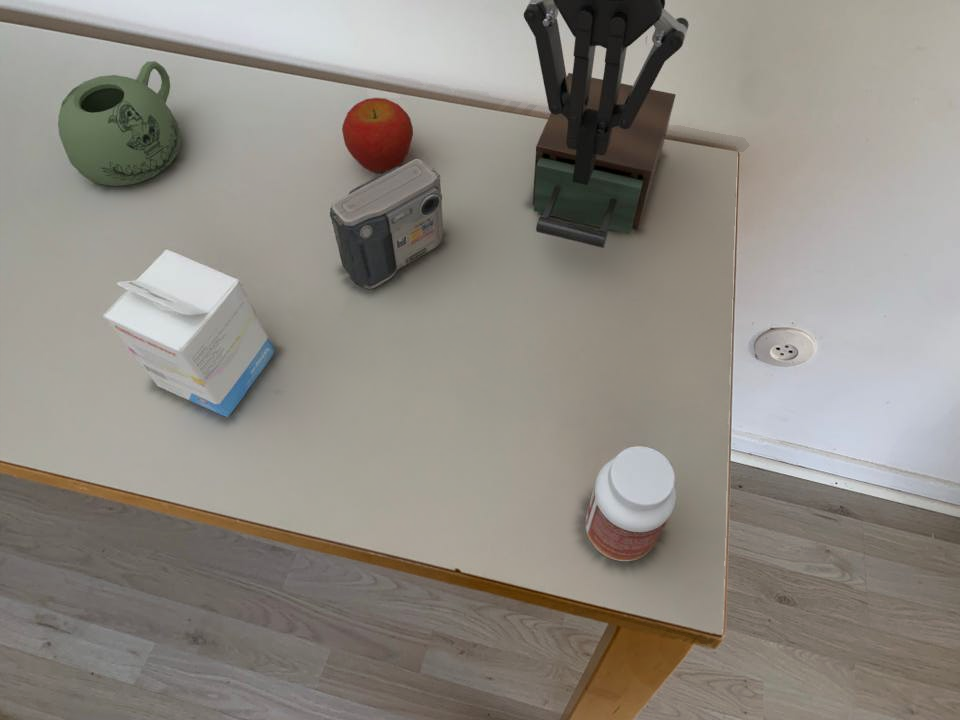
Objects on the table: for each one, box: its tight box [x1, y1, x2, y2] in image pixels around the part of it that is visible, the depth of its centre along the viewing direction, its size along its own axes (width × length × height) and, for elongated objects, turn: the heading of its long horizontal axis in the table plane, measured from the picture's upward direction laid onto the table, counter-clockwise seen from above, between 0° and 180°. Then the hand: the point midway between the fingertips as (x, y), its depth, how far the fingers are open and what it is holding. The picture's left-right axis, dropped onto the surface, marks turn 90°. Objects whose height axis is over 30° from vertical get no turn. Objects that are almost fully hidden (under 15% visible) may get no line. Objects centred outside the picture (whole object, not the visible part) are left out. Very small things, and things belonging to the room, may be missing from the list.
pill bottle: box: [584, 445, 677, 562], centre depth 58 cm, size 6×6×11 cm
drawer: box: [533, 155, 643, 249], centre depth 78 cm, size 18×11×7 cm, turn 161°
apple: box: [341, 97, 414, 173], centre depth 84 cm, size 8×8×8 cm
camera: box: [329, 158, 444, 290], centre depth 75 cm, size 11×6×10 cm, turn 126°
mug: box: [57, 60, 182, 187], centre depth 85 cm, size 16×13×9 cm
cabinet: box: [532, 72, 677, 231], centre depth 81 cm, size 13×12×9 cm
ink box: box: [102, 249, 276, 418], centre depth 66 cm, size 9×8×13 cm
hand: (583, 173), depth 71 cm, fingers closed
